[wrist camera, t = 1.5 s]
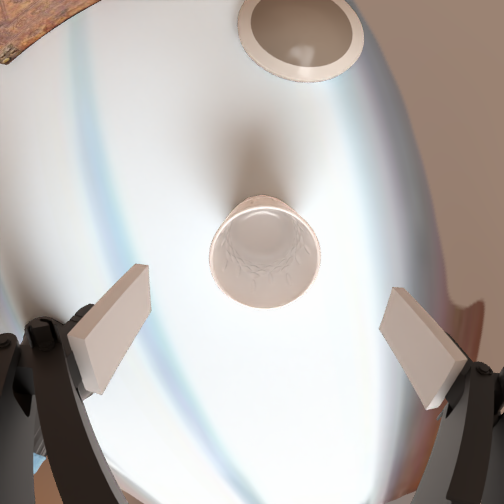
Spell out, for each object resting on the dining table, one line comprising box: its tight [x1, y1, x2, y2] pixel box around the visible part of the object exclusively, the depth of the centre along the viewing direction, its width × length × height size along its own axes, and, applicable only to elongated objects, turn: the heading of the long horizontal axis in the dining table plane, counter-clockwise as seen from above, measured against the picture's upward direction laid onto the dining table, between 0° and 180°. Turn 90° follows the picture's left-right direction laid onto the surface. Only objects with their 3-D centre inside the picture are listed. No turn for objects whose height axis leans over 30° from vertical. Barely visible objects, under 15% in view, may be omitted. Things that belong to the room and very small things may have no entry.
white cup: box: [209, 195, 321, 310], centre depth 24 cm, size 8×8×10 cm
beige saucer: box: [238, 0, 364, 83], centre depth 21 cm, size 13×13×2 cm
